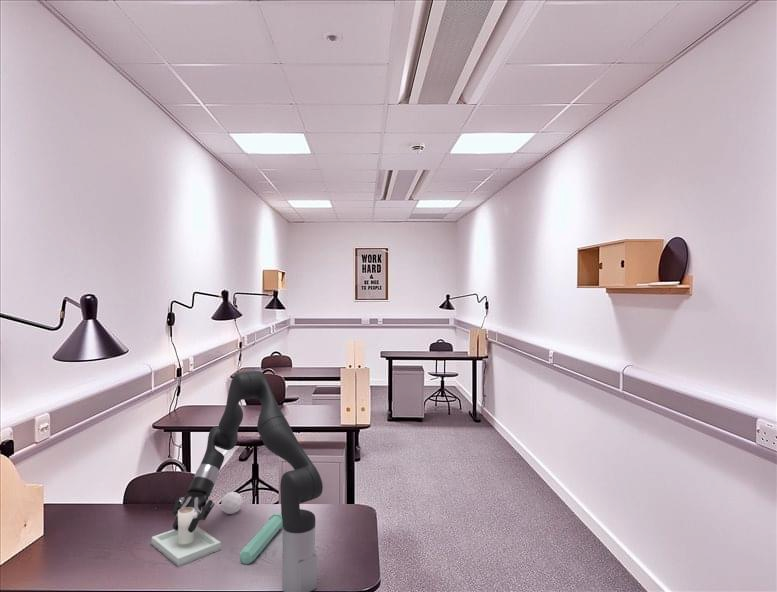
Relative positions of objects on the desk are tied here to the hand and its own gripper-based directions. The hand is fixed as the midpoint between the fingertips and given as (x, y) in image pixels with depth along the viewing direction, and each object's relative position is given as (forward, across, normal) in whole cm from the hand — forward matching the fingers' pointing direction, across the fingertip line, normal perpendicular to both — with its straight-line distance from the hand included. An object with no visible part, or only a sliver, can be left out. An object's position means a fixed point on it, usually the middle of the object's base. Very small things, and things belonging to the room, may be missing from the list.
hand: (182, 530), depth 161 cm
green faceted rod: (-1, +24, +11) cm, 26 cm away
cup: (+2, 0, +4) cm, 5 cm away
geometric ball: (-16, +1, +25) cm, 30 cm away
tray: (+3, 0, +6) cm, 7 cm away
